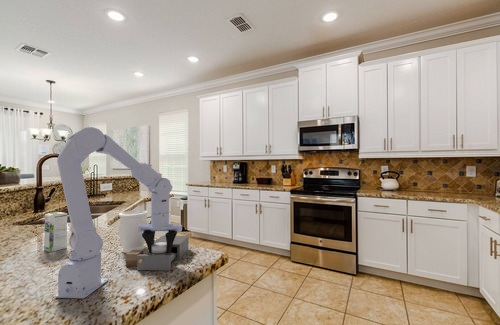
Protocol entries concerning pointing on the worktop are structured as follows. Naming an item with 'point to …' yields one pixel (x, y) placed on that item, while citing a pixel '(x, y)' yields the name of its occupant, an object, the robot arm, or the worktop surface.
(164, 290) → the worktop surface
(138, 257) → the grey drawer
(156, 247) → the white dome cap
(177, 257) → the block
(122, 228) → the jar
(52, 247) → the syrup box
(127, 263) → the walnut block
